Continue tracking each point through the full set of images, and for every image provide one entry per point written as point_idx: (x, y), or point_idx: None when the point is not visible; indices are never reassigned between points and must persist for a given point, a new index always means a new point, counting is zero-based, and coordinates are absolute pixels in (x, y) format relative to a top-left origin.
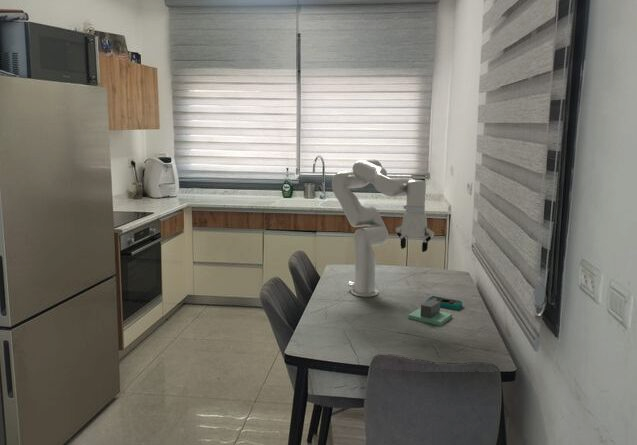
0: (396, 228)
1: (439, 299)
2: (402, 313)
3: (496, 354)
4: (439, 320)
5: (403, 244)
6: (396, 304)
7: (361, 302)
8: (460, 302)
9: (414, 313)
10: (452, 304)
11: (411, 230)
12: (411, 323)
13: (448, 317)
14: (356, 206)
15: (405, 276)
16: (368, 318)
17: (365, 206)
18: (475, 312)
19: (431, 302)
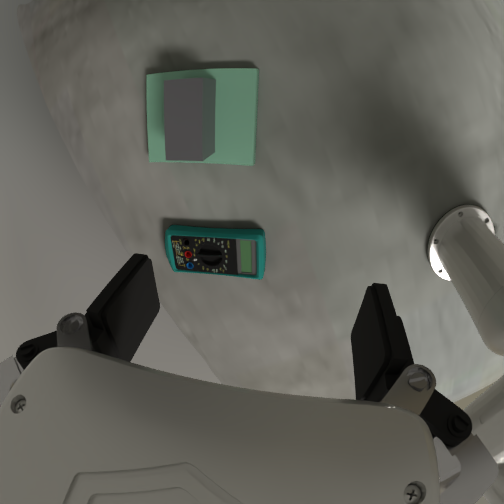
0: (488, 479)
1: (229, 259)
2: (296, 103)
3: (31, 32)
4: (153, 83)
5: (370, 325)
6: (349, 183)
7: (452, 152)
8: (169, 258)
9: (244, 92)
10: (179, 234)
11: (183, 498)
12: (229, 35)
13: (149, 133)
14: None
15: None
16: (371, 11)
17: None
18: (131, 232)
19: (184, 129)
